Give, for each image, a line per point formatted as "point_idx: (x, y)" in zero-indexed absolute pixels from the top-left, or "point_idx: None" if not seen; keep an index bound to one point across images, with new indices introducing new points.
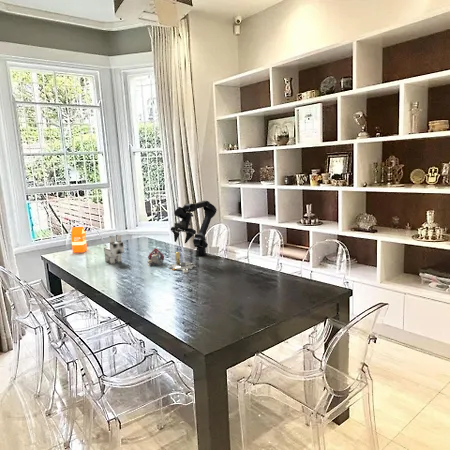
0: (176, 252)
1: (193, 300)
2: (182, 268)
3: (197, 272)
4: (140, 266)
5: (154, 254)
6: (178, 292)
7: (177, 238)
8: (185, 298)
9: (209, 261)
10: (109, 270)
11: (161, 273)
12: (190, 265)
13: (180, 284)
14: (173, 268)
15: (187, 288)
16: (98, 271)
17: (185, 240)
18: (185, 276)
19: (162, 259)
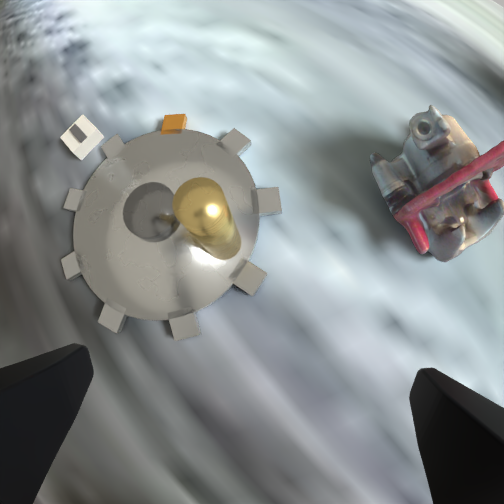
0: (208, 189)
1: (10, 19)
2: (116, 155)
3: (25, 173)
4: (460, 117)
5: (470, 147)
6: (49, 10)
7: (431, 491)
8: (27, 11)
9: (69, 441)
10: (489, 43)
11: (216, 55)
12: (96, 248)
13: (57, 36)
14: (179, 123)
15: (30, 37)
16: (499, 32)
17: (38, 361)
18: (62, 93)
19: (400, 202)
